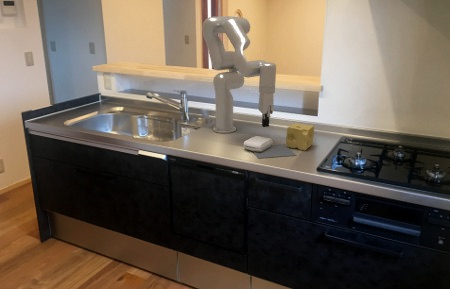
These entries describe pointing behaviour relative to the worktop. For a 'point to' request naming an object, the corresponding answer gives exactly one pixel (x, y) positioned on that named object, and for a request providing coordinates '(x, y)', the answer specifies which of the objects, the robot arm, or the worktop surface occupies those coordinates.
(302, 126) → the cheese
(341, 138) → the worktop surface
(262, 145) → the photo printer
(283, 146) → the mat
